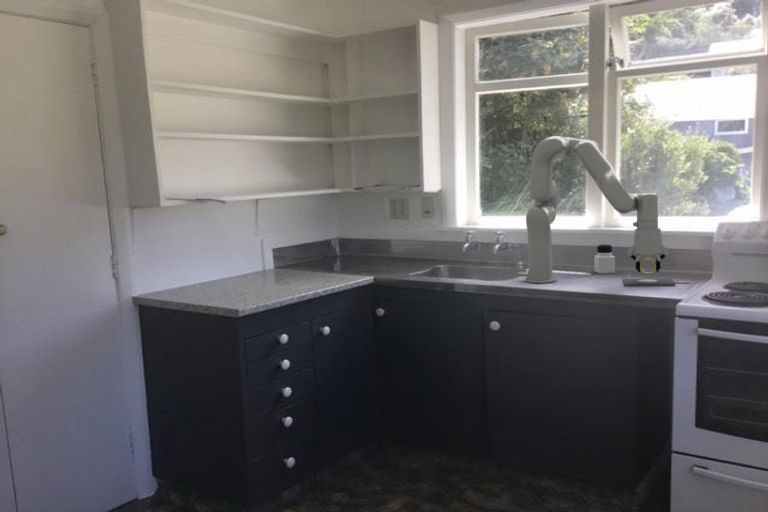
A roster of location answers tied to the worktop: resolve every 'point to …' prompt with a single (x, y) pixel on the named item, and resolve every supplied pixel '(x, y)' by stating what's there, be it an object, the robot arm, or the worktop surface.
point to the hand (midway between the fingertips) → (648, 271)
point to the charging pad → (652, 282)
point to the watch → (648, 259)
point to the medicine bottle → (604, 260)
